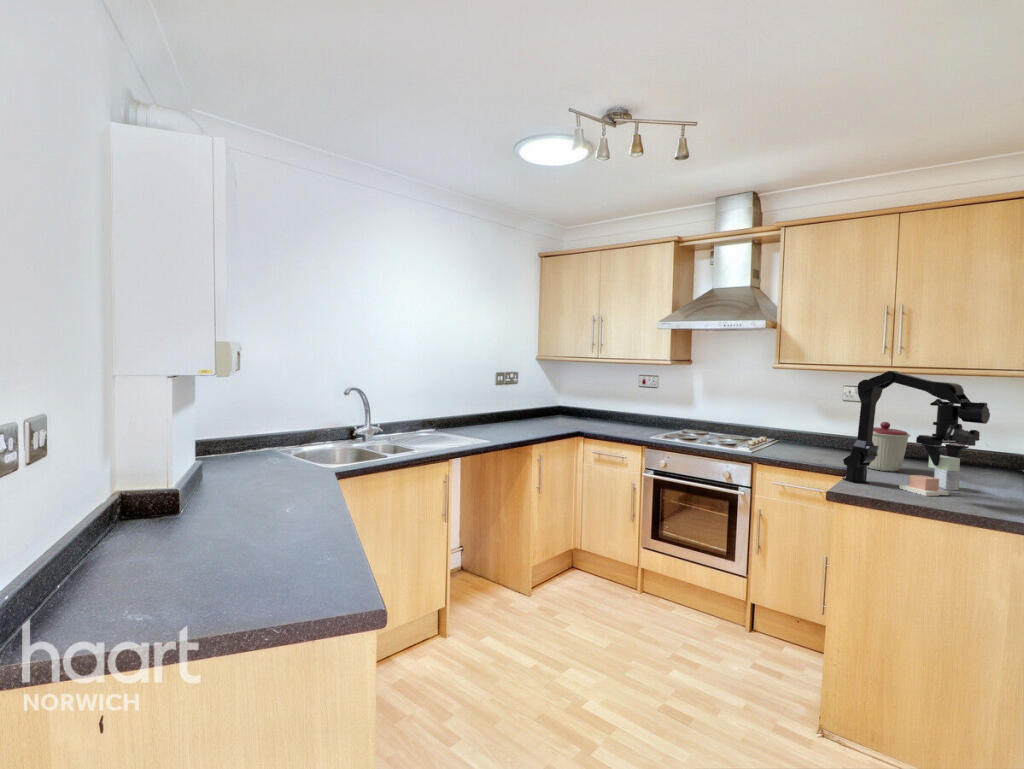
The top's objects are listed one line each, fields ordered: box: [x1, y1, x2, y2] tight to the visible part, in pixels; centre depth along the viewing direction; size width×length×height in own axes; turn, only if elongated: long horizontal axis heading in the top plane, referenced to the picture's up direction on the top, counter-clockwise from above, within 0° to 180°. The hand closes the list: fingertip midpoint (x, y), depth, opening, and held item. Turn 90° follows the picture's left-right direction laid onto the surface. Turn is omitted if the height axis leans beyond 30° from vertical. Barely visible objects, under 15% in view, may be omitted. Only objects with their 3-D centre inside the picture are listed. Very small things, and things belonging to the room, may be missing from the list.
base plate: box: [898, 484, 950, 497], centre depth 191 cm, size 10×10×2 cm
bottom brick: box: [908, 474, 940, 490], centre depth 190 cm, size 6×6×4 cm
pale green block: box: [927, 454, 961, 471], centre depth 179 cm, size 6×6×4 cm
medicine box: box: [933, 467, 961, 492], centre depth 199 cm, size 8×4×9 cm, turn 168°
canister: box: [867, 421, 911, 473], centre depth 231 cm, size 18×18×21 cm
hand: (943, 465), depth 179 cm, fingers closed on pale green block, 6 cm apart
